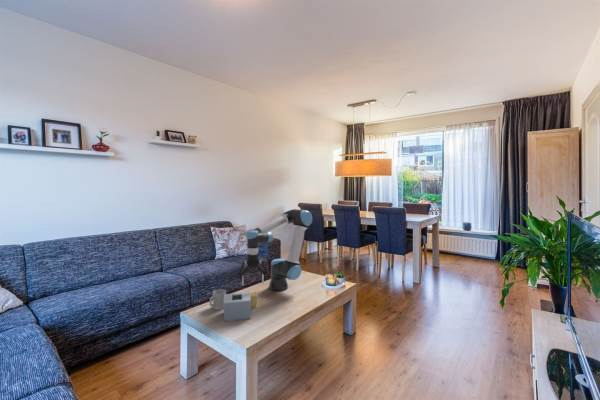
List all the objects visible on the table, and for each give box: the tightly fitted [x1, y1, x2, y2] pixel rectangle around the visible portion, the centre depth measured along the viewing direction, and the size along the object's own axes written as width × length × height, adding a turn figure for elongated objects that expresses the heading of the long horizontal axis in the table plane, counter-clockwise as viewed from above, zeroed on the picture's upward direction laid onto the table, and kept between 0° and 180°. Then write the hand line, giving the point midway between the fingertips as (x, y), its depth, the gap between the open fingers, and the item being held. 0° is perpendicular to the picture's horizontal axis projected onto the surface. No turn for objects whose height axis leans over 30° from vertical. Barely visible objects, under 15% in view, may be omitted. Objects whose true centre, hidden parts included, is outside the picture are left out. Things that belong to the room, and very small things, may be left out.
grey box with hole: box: [223, 291, 252, 322], centre depth 186 cm, size 16×13×12 cm
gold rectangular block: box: [249, 292, 258, 309], centre depth 201 cm, size 4×6×8 cm, turn 13°
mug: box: [209, 288, 227, 311], centre depth 197 cm, size 12×8×11 cm
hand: (252, 284), depth 200 cm, fingers open, 13 cm apart
